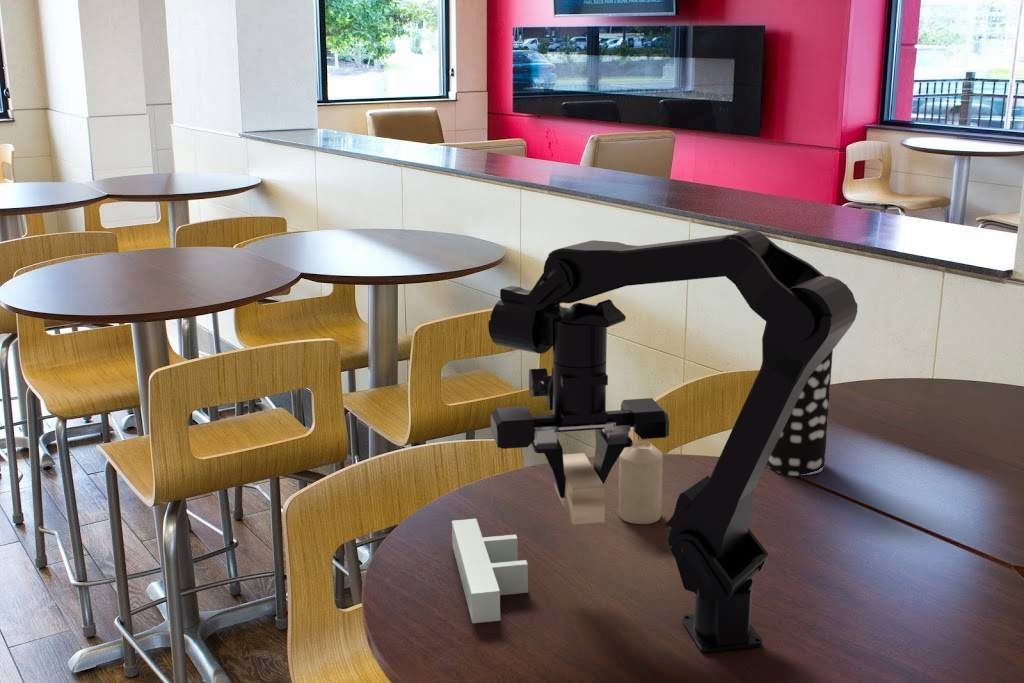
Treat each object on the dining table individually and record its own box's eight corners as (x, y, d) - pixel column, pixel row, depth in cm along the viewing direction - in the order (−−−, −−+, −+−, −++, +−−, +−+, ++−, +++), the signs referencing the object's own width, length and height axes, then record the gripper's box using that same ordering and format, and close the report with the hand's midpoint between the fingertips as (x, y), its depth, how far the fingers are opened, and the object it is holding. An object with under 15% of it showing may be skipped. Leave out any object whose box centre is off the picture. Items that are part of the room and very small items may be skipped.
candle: (659, 526, 130) (661, 453, 127) (616, 523, 131) (617, 450, 128) (662, 508, 135) (664, 437, 132) (620, 505, 136) (621, 435, 133)
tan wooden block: (604, 522, 109) (605, 487, 108) (572, 524, 108) (572, 489, 107) (583, 485, 118) (584, 452, 117) (554, 487, 118) (554, 455, 117)
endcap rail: (537, 616, 109) (536, 587, 108) (472, 623, 108) (471, 593, 107) (508, 541, 126) (508, 515, 125) (452, 546, 125) (451, 520, 124)
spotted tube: (763, 473, 146) (770, 338, 141) (766, 452, 154) (774, 323, 148) (824, 478, 144) (833, 342, 138) (824, 457, 151) (833, 327, 146)
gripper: (643, 336, 118) (640, 462, 122) (483, 345, 115) (485, 473, 119) (672, 363, 107) (668, 500, 111) (497, 373, 104) (499, 513, 109)
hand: (578, 495), depth 113 cm, fingers closed on tan wooden block, 3 cm apart
